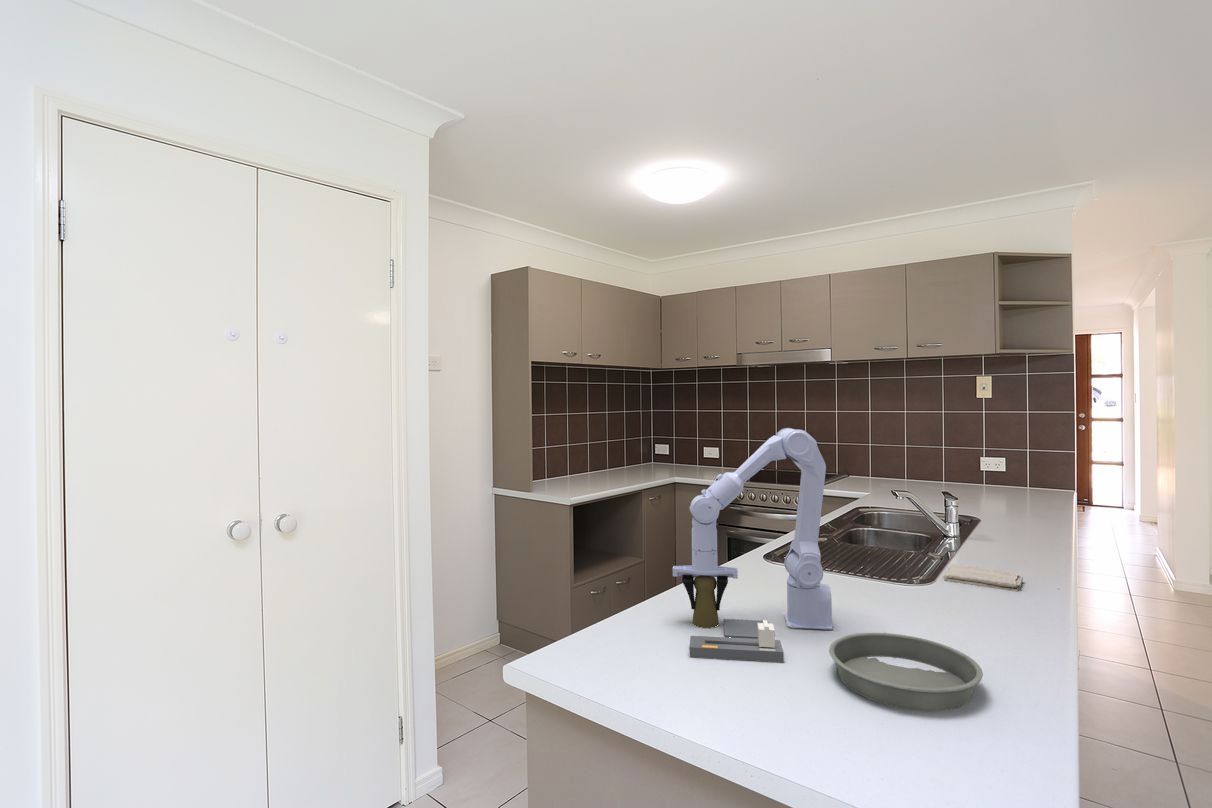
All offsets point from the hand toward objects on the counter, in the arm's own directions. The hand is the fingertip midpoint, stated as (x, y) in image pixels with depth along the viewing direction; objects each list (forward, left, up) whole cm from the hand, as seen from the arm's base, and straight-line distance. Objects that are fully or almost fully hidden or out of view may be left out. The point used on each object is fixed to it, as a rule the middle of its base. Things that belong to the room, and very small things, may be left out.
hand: (705, 608), depth 139 cm
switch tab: (-12, +16, -1) cm, 20 cm away
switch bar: (-6, +16, -3) cm, 17 cm away
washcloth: (-75, -42, -4) cm, 86 cm away
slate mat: (-9, +3, -3) cm, 10 cm away
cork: (0, 0, -4) cm, 4 cm away
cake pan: (-35, +24, -4) cm, 43 cm away
